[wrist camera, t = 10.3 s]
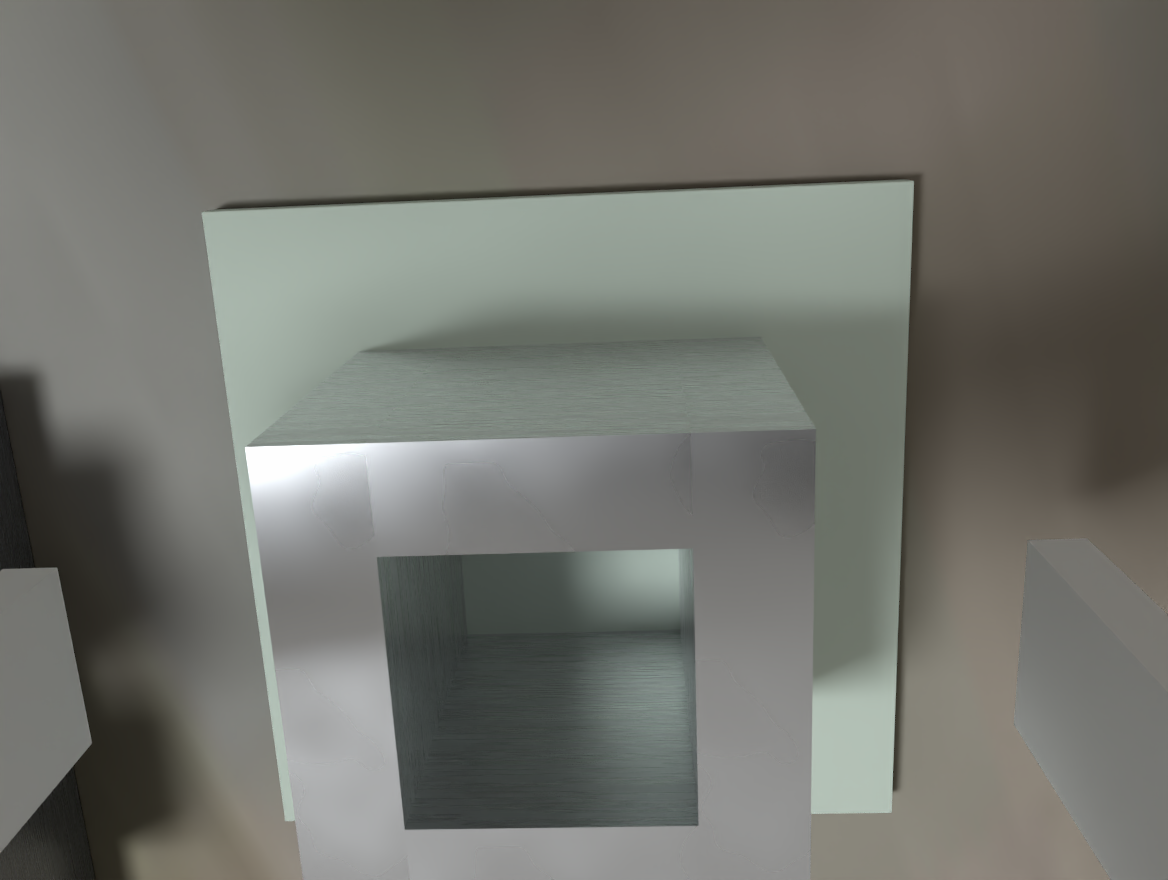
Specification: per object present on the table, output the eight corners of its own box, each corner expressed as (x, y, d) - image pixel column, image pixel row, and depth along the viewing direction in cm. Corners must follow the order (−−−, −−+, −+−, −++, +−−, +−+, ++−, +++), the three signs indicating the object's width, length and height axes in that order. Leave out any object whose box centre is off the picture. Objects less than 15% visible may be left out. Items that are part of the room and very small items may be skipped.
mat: (214, 209, 19) (201, 212, 19) (905, 179, 19) (914, 180, 18) (294, 803, 23) (285, 820, 22) (885, 794, 22) (891, 812, 22)
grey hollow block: (359, 351, 19) (244, 447, 14) (760, 336, 19) (816, 429, 13) (396, 707, 21) (308, 922, 16) (761, 700, 21) (808, 918, 15)
